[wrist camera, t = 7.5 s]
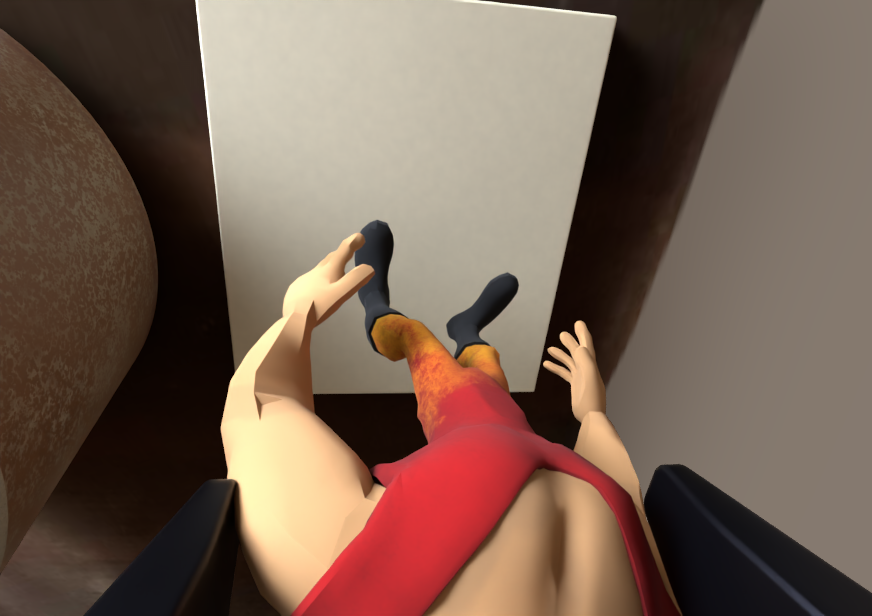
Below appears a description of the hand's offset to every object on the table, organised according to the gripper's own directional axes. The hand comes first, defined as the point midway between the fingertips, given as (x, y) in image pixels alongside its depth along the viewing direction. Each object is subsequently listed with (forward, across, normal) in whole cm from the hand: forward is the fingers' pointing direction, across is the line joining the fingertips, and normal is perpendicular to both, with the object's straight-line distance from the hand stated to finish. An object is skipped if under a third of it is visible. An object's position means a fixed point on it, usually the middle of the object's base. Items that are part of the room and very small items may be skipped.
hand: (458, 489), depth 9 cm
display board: (+12, 0, 0) cm, 12 cm away
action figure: (+9, -1, 0) cm, 9 cm away
